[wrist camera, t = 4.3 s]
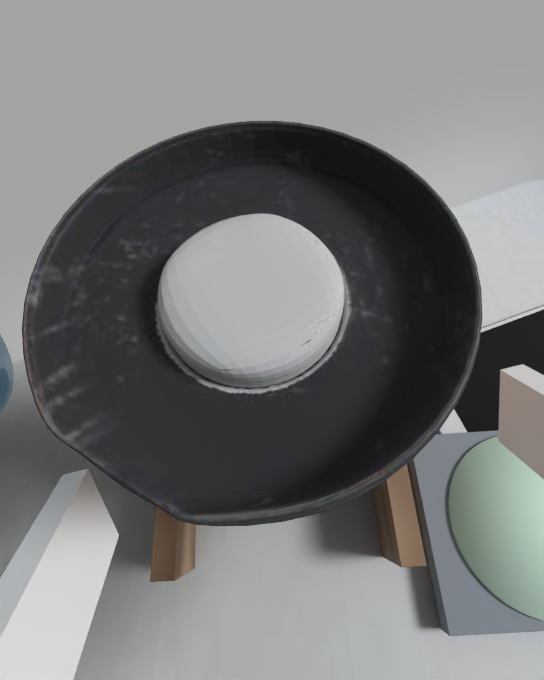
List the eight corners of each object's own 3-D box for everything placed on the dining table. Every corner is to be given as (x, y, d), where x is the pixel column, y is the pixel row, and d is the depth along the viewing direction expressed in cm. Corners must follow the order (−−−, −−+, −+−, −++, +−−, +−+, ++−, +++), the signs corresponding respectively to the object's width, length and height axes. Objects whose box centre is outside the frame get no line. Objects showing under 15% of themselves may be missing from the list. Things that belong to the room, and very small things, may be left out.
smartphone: (651, 378, 25) (664, 373, 24) (449, 459, 24) (455, 457, 23) (581, 294, 28) (590, 287, 27) (397, 362, 27) (400, 357, 26)
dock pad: (441, 628, 20) (451, 637, 19) (403, 439, 24) (409, 435, 23) (668, 616, 20) (694, 624, 18) (591, 427, 24) (608, 422, 23)
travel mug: (318, 378, 26) (379, 80, 8) (357, 491, 23) (609, 435, 5) (212, 408, 26) (14, 164, 7) (237, 527, 22) (0, 622, 4)
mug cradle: (173, 569, 22) (150, 581, 18) (183, 359, 27) (166, 336, 23) (403, 555, 21) (426, 565, 18) (366, 346, 27) (378, 321, 23)
